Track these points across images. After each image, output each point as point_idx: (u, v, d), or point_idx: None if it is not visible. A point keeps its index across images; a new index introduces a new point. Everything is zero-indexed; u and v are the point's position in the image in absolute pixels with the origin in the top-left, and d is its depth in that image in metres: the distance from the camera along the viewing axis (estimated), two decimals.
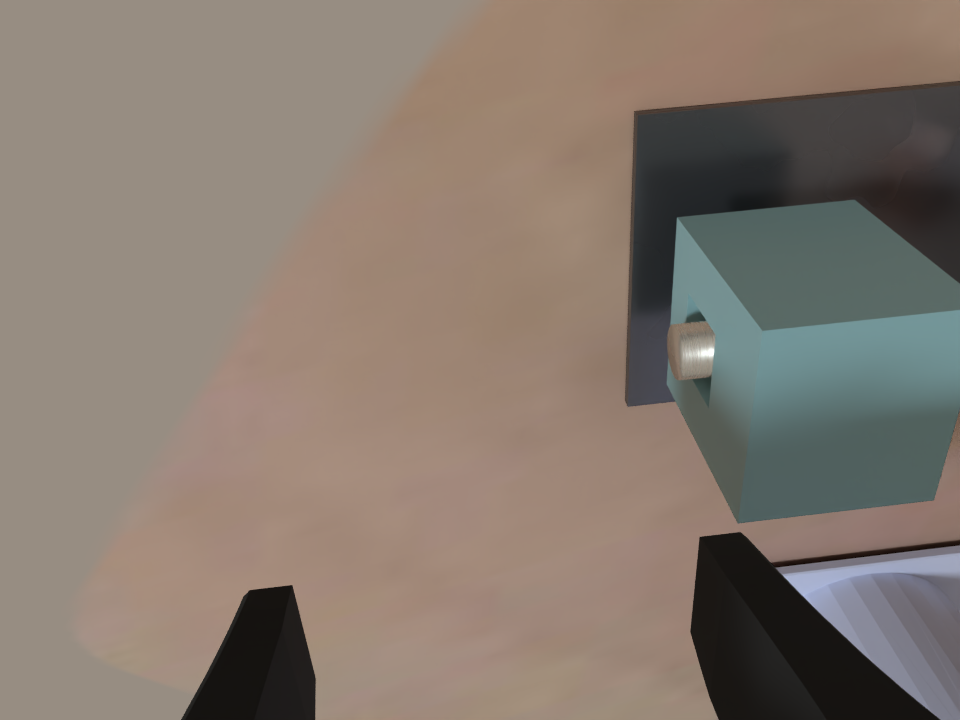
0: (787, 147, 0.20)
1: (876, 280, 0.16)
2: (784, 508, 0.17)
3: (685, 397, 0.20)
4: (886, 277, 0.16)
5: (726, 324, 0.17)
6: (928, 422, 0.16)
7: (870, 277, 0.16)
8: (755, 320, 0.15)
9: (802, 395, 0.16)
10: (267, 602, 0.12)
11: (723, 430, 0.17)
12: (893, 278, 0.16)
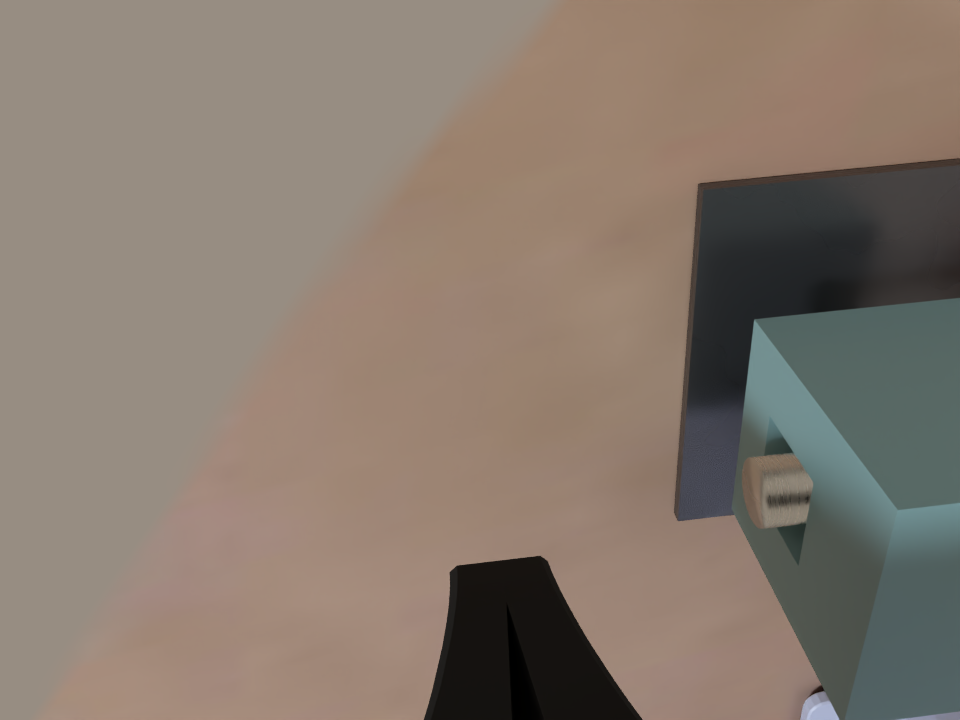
0: (884, 226, 0.16)
1: None
2: (903, 708, 0.13)
3: (760, 536, 0.16)
4: None
5: (832, 477, 0.13)
6: None
7: None
8: (885, 491, 0.11)
9: (941, 583, 0.12)
10: (480, 576, 0.12)
11: (822, 603, 0.14)
12: None
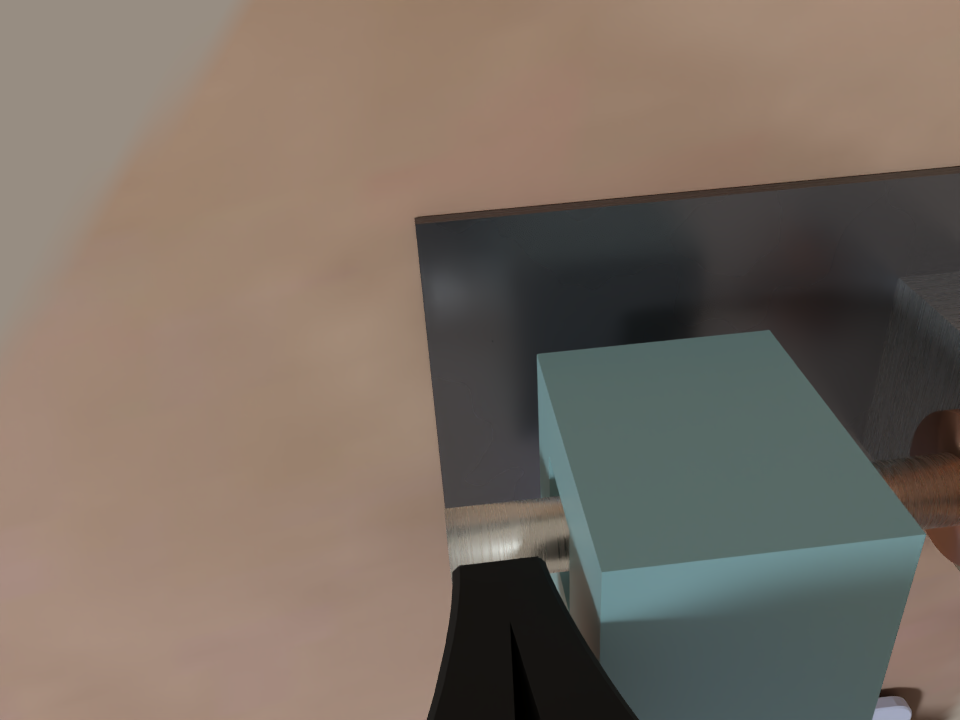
0: (618, 261, 0.16)
1: (776, 476, 0.12)
2: None
3: (553, 578, 0.15)
4: (791, 471, 0.12)
5: (576, 529, 0.12)
6: (849, 669, 0.12)
7: (769, 471, 0.12)
8: (596, 550, 0.11)
9: (668, 645, 0.11)
10: (482, 577, 0.12)
11: None
12: (800, 473, 0.12)
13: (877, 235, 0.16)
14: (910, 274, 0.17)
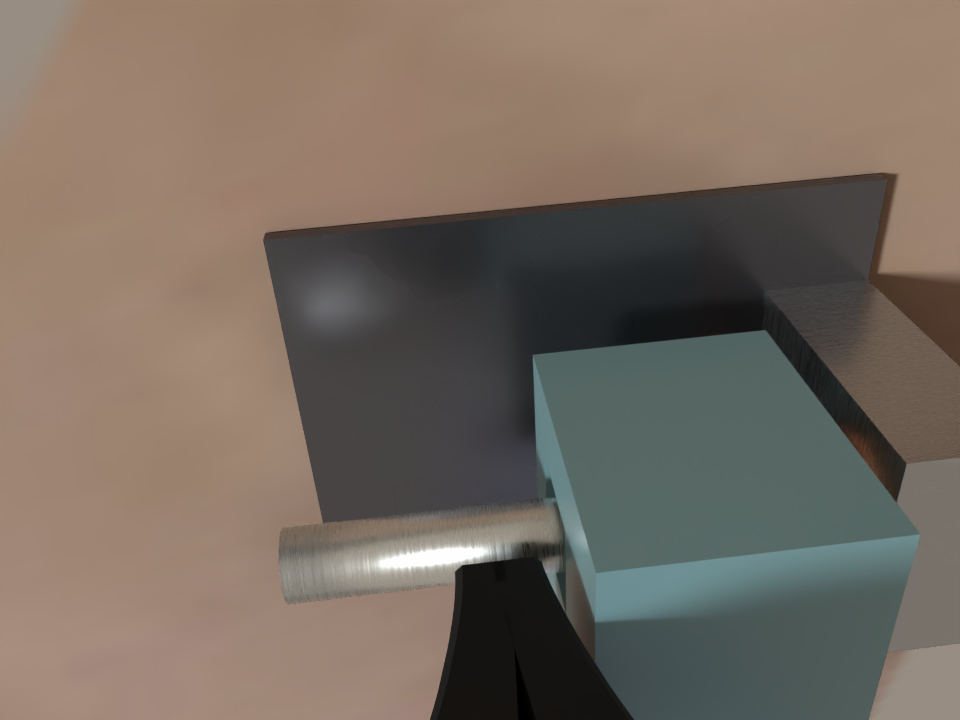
0: (475, 276, 0.16)
1: (771, 477, 0.12)
2: None
3: (551, 578, 0.15)
4: (785, 471, 0.12)
5: (570, 529, 0.12)
6: (844, 669, 0.12)
7: (764, 471, 0.12)
8: (590, 551, 0.11)
9: (663, 645, 0.11)
10: (485, 577, 0.12)
11: None
12: (795, 474, 0.12)
13: (738, 249, 0.16)
14: (777, 287, 0.16)
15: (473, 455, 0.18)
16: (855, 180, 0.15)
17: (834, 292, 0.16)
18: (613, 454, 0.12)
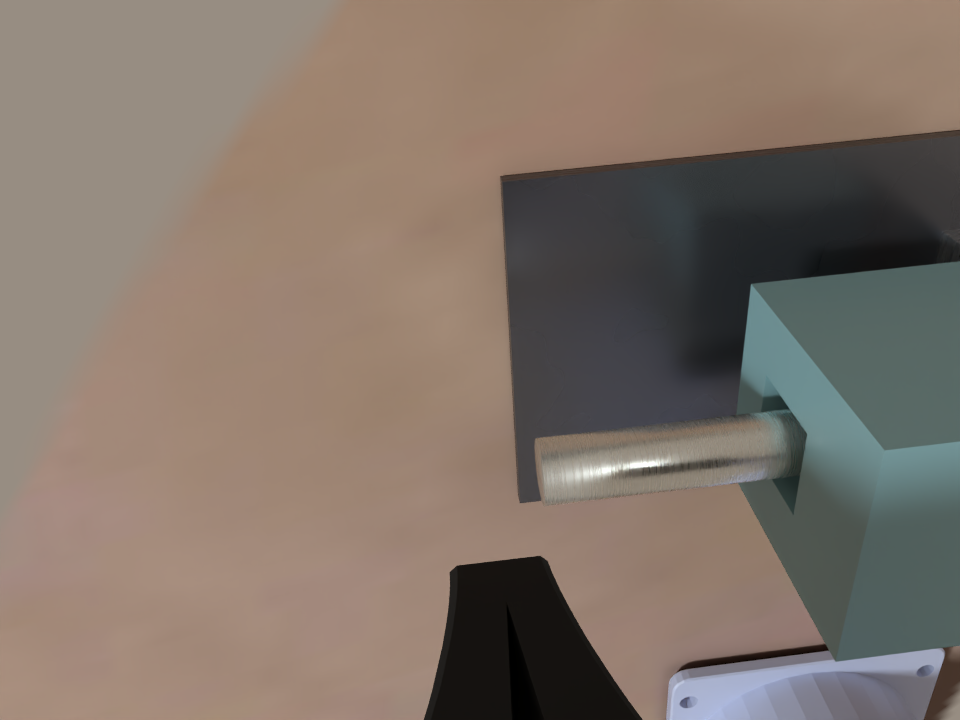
0: (685, 216, 0.17)
1: None
2: (892, 644, 0.14)
3: (757, 491, 0.17)
4: None
5: (824, 426, 0.14)
6: None
7: None
8: (872, 434, 0.12)
9: (926, 521, 0.13)
10: (481, 577, 0.12)
11: (816, 547, 0.14)
12: None
13: (923, 192, 0.17)
14: (952, 228, 0.18)
15: (660, 388, 0.19)
16: None
17: None
18: (860, 360, 0.14)
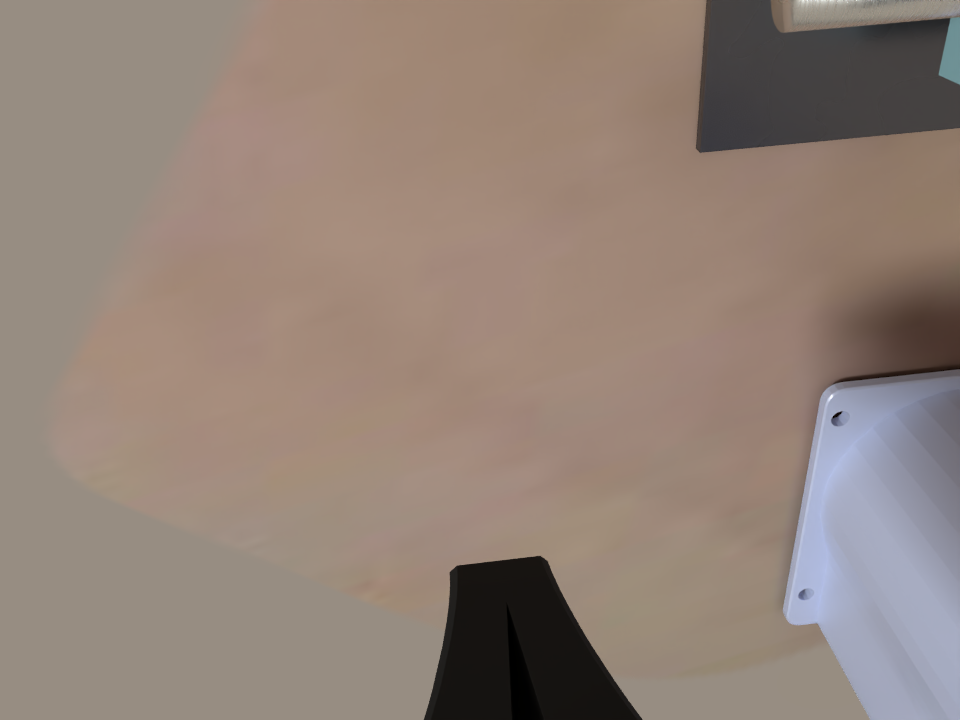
0: None
1: None
2: None
3: None
4: None
5: None
6: None
7: None
8: None
9: None
10: (480, 577, 0.12)
11: None
12: None
13: None
14: None
15: None
16: None
17: None
18: None
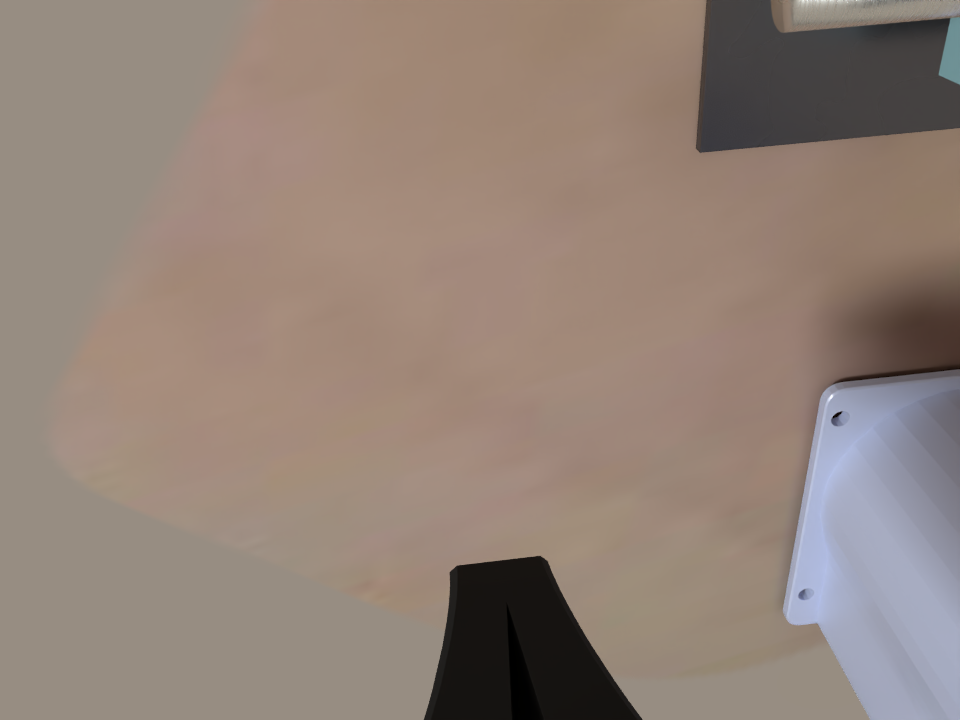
0: None
1: None
2: None
3: None
4: None
5: None
6: None
7: None
8: None
9: None
10: (480, 577, 0.12)
11: None
12: None
13: None
14: None
15: None
16: None
17: None
18: None
